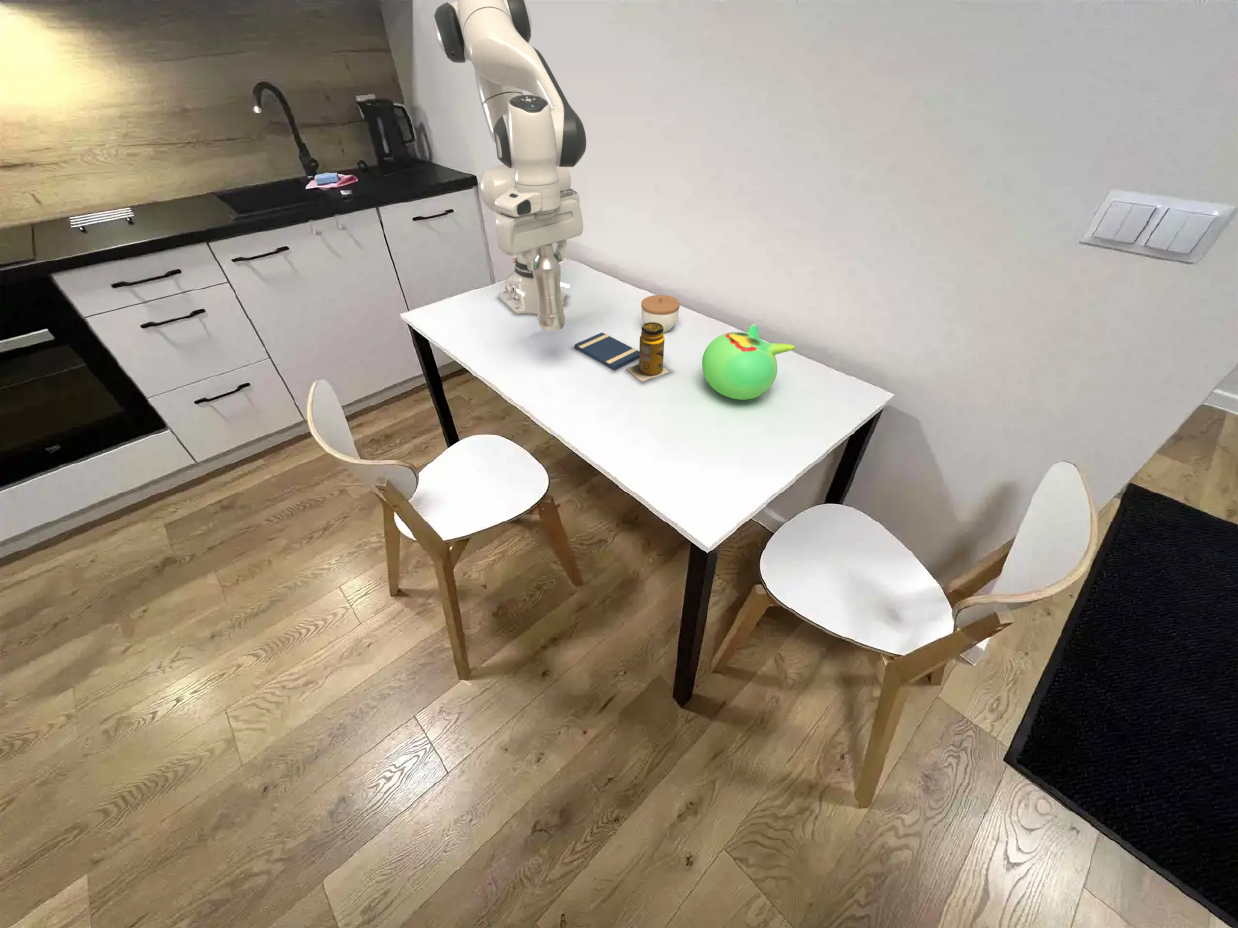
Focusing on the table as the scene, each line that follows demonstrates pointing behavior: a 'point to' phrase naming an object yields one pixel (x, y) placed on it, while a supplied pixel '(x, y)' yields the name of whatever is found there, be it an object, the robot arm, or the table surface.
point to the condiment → (650, 353)
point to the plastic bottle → (548, 290)
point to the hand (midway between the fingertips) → (545, 265)
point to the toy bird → (741, 364)
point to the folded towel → (608, 351)
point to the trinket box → (660, 310)
